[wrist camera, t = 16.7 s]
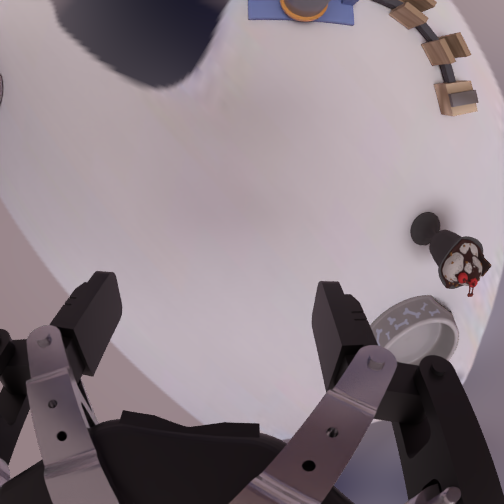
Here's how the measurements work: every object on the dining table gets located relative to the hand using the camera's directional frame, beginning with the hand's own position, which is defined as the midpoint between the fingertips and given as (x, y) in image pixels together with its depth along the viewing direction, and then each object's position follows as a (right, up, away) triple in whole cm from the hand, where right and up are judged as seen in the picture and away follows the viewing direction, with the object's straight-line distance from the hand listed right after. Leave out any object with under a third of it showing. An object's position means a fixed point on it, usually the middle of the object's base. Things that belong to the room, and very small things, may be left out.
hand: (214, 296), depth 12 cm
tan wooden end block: (+27, +21, +18) cm, 39 cm away
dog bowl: (+29, -13, +36) cm, 48 cm away
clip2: (+25, +27, +15) cm, 39 cm away
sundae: (+25, +5, +27) cm, 37 cm away
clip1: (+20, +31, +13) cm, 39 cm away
